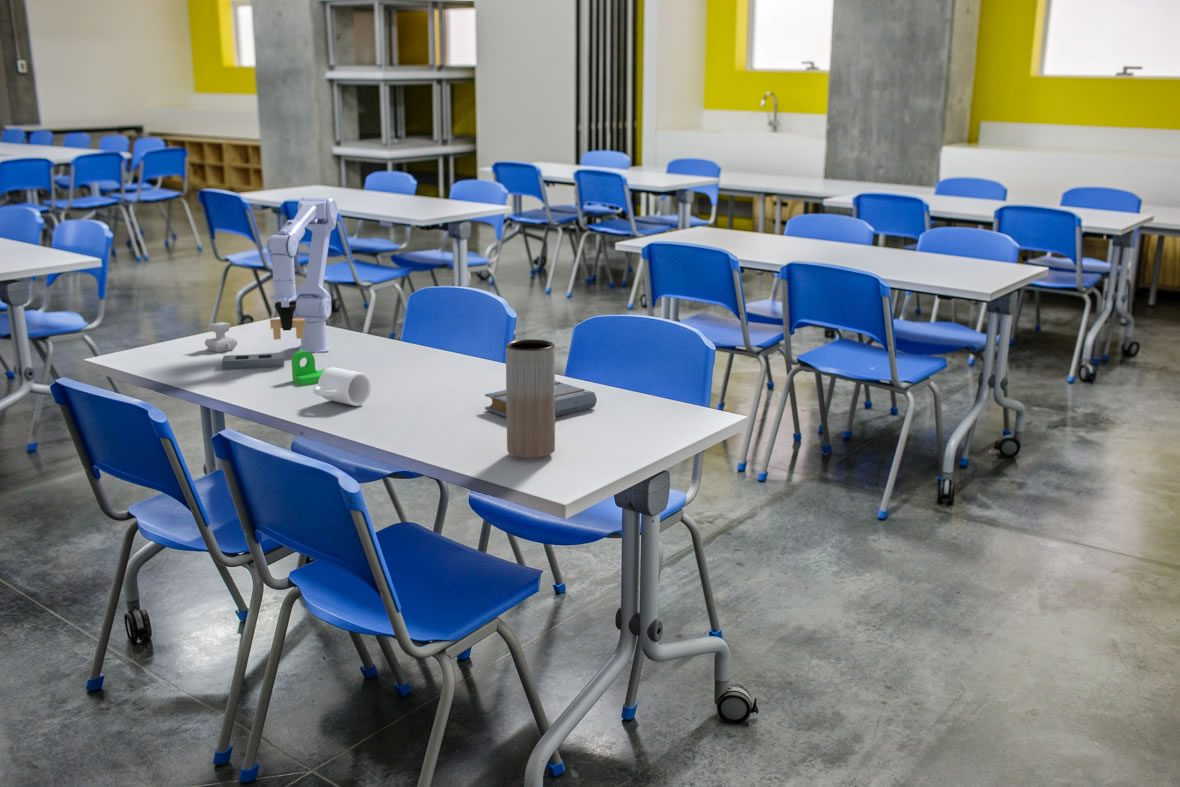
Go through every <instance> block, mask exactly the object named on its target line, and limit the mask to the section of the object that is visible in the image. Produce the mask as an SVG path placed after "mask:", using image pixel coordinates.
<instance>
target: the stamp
mask: <svg viewBox="0 0 1180 787" xmlns="http://www.w3.org/2000/svg"><path fill="white" fill-rule="evenodd" d="M230 329H231V323H228V322H224V321H222V322H215V323H210V324H209V330H210V331H211V332H212V333H215V337H212V338H206V339H205V341H204V345H205V346H206V348H208V350H210V351H212V352H215V351H216V352H215V353H218V352H219V353H224V351H225V352H229V350H230V351H233V350H234V349H235V348H237V347H236V346H238V341H237V340H236V339H235V338H233V337H228V336H226V333H228V332H229V331H230Z"/></svg>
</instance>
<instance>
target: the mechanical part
mask: <svg viewBox="0 0 1180 787" xmlns="http://www.w3.org/2000/svg"><path fill="white" fill-rule="evenodd" d="M304 358H305V359H306V362H305V365H304V366H301V361H302V359H304ZM326 369H327V368H325V369H319V370H318V369H317V370H316V360H315V356H314V354H312V353H310V352H307V351H305V350H300V349H299V350H297V351H296V352H295V353H294V354H293V356H292V357H291V375H292V376H291V377H292V381H293V382H294V383H296V384H299V385H300V386H302V387H303V386H305V387H306V386H309V385H318V381H319V378H320V376H321V374H322V373H323V371H325V370H326Z"/></svg>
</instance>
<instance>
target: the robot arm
mask: <svg viewBox="0 0 1180 787" xmlns="http://www.w3.org/2000/svg"><path fill="white" fill-rule="evenodd" d="M297 203H298V204H297V213H296V214H295V216H294V217H293V219H288V220H287V221H286V222H285V223H284V225H283V226H282V227H281V229H280V230H279V231H278V232H277V234H272V235H271V236H269V237H268V240H267V244H266V250H267V254H268V257H269V261H270V263H271V265H272V266H271V267H272V282H273V294H274V295H270V296H269V299H270V300H275V301H277V302H274V308H275V310H276V312H277V314H278V316H279V319H280V320H281V325H282V328H281V329H282V331H292V329H293V328H292V320H293V319H294V317H295V319H301V318H305V327H303V338H300V345H299V351H300V350H305V351H307V352H310V353H311V354H312V353H313V354H314V353H316V354H317V353H329V352H330V351H329V344H328V343H327V341H328V340H327V328H326V327H327V322H326V320H328V319H329V317H330V316H331V314H332V296H331V293H329V291H328V290H327V289H325V288H324V283H325V282H324V281H325V274H326V267H327V260H328V253H329V245H330V240H331V239H330V238H331V233H332V231H333V230H335V229H336V224H337V219H338V211H339V210H338V206H337V202H336V201H335V198H333V197H328V198H327V197H305V196H302V197H301V198H300V199H299V201H298V202H297ZM306 229H307V230H309V231H310V232H311V233H312V235H311V240H310V241H311V242H310V246H309V247H310V249H309V256H308V264H307V269H306V275H305V284H304V285H303V286H301V287H299V289H297V288H296V287H297V286H296V275H295V274H296V273H295V272H296V271H295V270H296V269H295V256H296V255H297V252H298V247H299V245H300V244H299V242H300V241H301V240H302V238H303V237H304V235H305V234H306Z"/></svg>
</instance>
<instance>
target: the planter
mask: <svg viewBox="0 0 1180 787" xmlns="http://www.w3.org/2000/svg"><path fill="white" fill-rule="evenodd" d="M555 381H556V345H555V343H554V342H552V341H549V340H543V339H518V340H513V341H510V342H508V343H506V345H505V387H506V388H505V390H506V411H507V417H506V450H507V452H508V453H509V454H510V455H512V456H515V457H519V458H526V459H527V458H529V459H530V458H542V457H547V456H550V455H551V454H553V453H554V452H555V449H556V416H555Z"/></svg>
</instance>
